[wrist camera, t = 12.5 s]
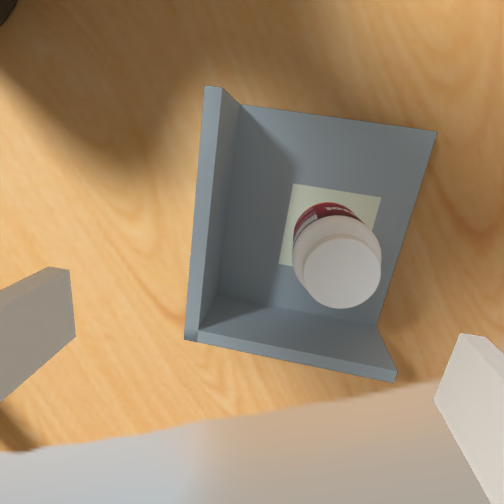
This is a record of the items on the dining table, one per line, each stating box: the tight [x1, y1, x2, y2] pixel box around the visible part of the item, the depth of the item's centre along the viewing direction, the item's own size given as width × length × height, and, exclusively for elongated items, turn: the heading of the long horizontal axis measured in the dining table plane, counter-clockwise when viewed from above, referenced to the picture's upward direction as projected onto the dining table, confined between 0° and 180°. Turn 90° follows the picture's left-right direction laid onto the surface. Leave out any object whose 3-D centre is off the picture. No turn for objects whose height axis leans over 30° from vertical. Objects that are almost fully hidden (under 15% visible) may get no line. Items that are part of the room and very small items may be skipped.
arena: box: [184, 85, 437, 383], centre depth 27 cm, size 20×18×8 cm
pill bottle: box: [292, 202, 382, 309], centre depth 24 cm, size 6×6×11 cm
